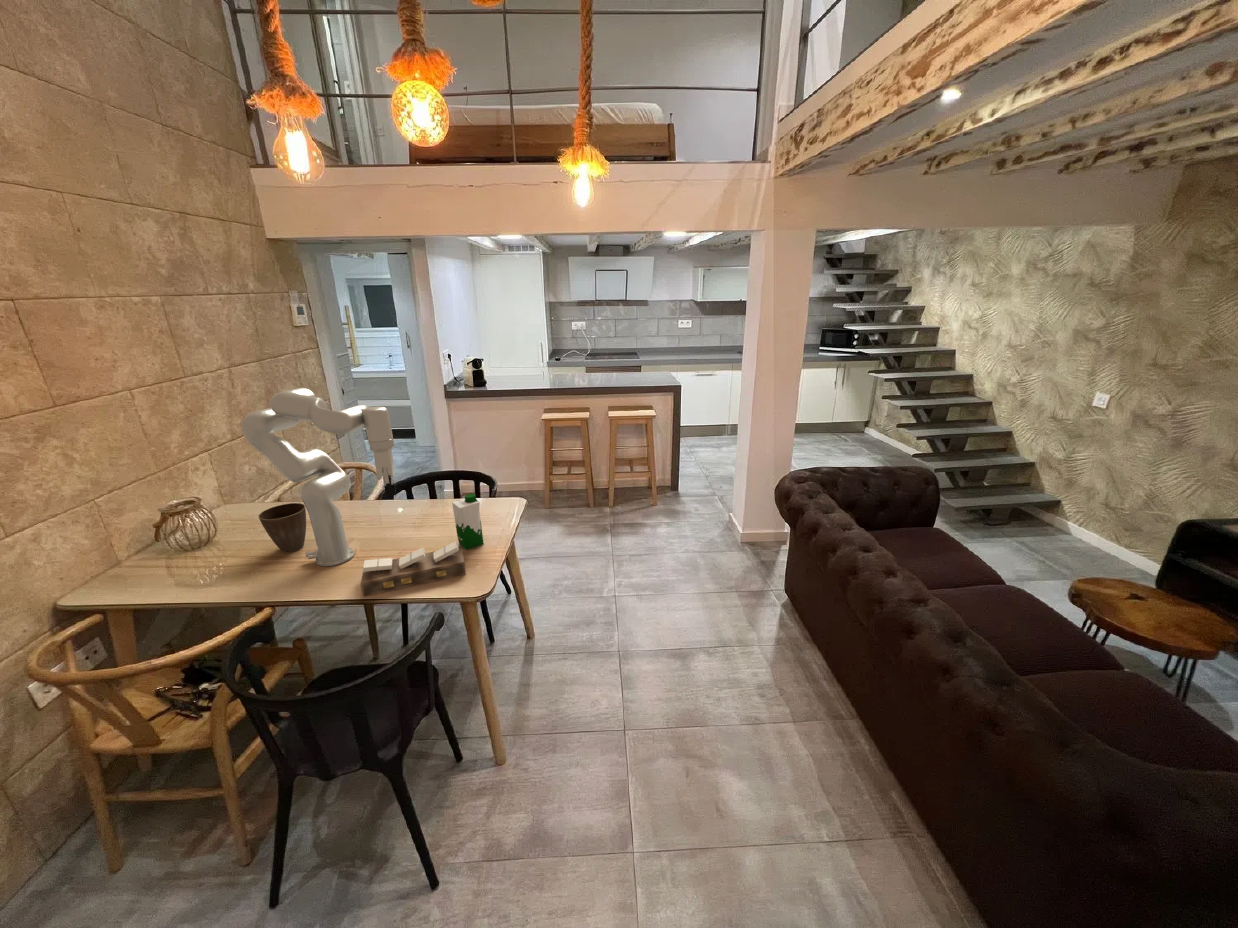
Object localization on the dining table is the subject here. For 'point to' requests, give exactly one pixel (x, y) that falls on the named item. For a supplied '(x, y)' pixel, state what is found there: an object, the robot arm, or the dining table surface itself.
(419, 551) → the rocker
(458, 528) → the milk carton
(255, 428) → the robot arm
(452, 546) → the rocker
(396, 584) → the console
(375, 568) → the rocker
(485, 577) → the dining table surface
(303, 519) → the plant pot
